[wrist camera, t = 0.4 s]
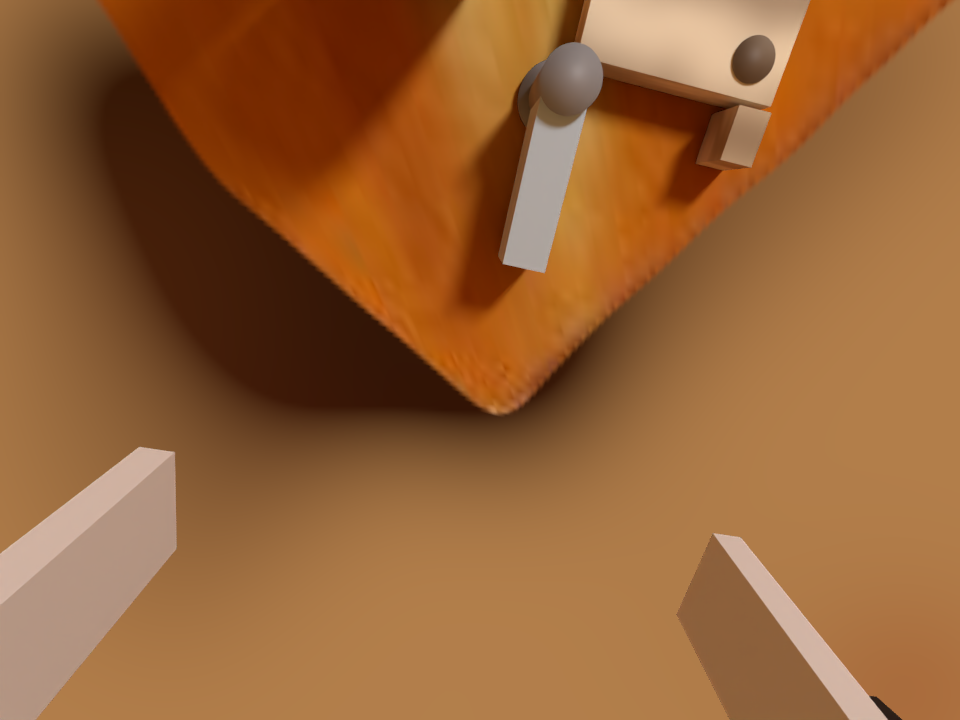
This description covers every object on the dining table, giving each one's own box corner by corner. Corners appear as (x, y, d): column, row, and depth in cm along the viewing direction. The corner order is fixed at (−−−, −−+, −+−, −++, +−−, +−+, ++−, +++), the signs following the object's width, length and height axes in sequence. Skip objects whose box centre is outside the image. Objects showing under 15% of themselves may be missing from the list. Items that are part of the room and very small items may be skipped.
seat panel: (580, -199, 25) (596, -255, 22) (829, -120, 26) (878, -162, 23) (510, 130, 30) (515, 122, 27) (721, 182, 31) (749, 180, 28)
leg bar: (535, 62, 28) (550, 35, 23) (586, 76, 28) (610, 51, 23) (493, 254, 31) (498, 264, 27) (538, 264, 32) (551, 276, 27)
